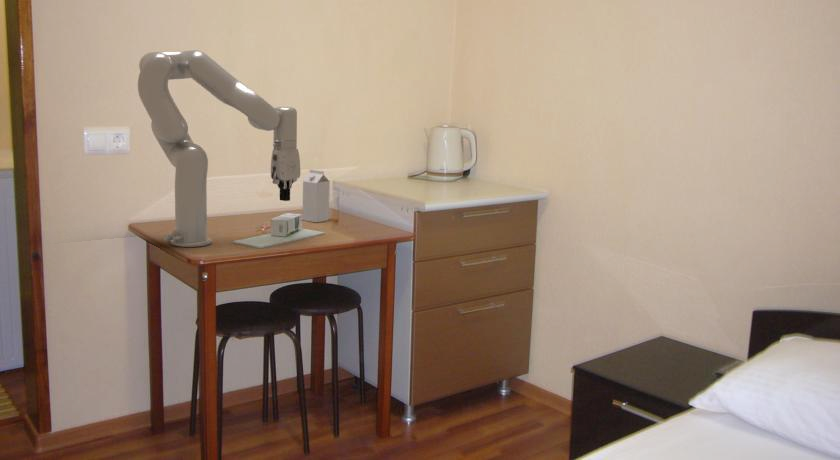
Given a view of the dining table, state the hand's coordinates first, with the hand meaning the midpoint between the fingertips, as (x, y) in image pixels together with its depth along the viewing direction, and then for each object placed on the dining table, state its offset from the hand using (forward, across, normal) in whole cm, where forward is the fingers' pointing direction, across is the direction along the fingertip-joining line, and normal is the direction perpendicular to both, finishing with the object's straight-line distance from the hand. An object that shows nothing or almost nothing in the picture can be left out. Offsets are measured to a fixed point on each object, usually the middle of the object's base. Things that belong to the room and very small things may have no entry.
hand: (284, 200), depth 257 cm
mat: (+13, -2, 0) cm, 13 cm away
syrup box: (+9, -2, +1) cm, 10 cm away
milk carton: (+13, +32, +13) cm, 37 cm away
